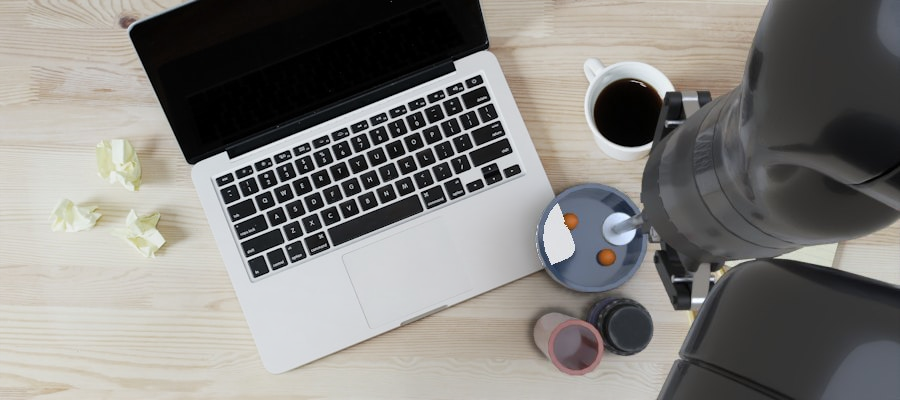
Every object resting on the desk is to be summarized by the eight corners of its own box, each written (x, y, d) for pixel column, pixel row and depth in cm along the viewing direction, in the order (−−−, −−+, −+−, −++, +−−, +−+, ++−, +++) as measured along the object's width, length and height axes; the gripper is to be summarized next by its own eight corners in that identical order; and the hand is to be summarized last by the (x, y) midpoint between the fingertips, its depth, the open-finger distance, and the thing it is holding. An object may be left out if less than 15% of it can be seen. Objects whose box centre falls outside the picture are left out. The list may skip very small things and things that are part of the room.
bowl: (640, 291, 87) (649, 291, 82) (535, 292, 88) (538, 292, 83) (636, 188, 89) (645, 183, 84) (533, 190, 89) (536, 184, 84)
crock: (576, 355, 87) (604, 375, 67) (533, 355, 87) (548, 375, 67) (575, 312, 87) (602, 319, 67) (533, 312, 87) (547, 319, 68)
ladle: (634, 246, 67) (698, 229, 47) (600, 246, 67) (650, 230, 47) (633, 213, 67) (696, 182, 47) (599, 213, 67) (648, 183, 47)
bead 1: (577, 230, 88) (579, 229, 86) (560, 230, 88) (562, 229, 86) (576, 213, 88) (579, 212, 86) (560, 213, 88) (561, 212, 86)
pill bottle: (580, 342, 87) (594, 350, 76) (591, 291, 87) (607, 292, 77) (632, 355, 86) (653, 365, 75) (643, 304, 87) (666, 306, 76)
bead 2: (614, 266, 87) (617, 265, 85) (597, 266, 87) (600, 265, 85) (614, 249, 87) (617, 248, 85) (596, 249, 87) (599, 248, 85)
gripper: (654, 38, 36) (598, 119, 53) (665, 327, 34) (604, 313, 51) (813, 35, 35) (705, 117, 53) (832, 326, 34) (714, 312, 51)
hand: (655, 214), depth 52 cm, fingers closed on ladle, 1 cm apart
